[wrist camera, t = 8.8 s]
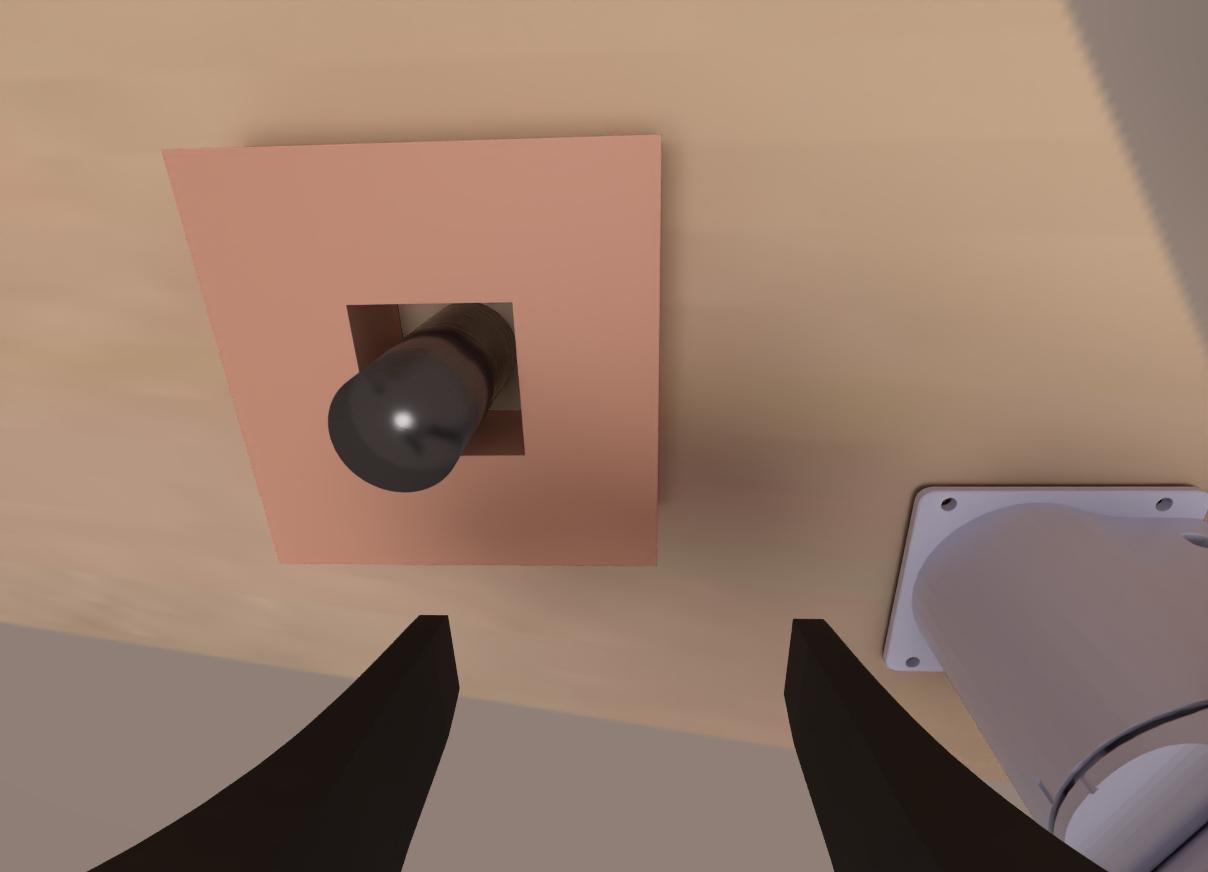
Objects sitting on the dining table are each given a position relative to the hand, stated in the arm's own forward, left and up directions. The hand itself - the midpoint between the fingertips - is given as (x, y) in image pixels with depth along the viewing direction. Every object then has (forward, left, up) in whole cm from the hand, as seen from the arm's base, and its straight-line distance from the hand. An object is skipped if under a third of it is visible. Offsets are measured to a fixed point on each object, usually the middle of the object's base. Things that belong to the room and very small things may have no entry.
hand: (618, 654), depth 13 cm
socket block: (+5, -4, -9) cm, 11 cm away
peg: (+5, -4, -9) cm, 11 cm away
